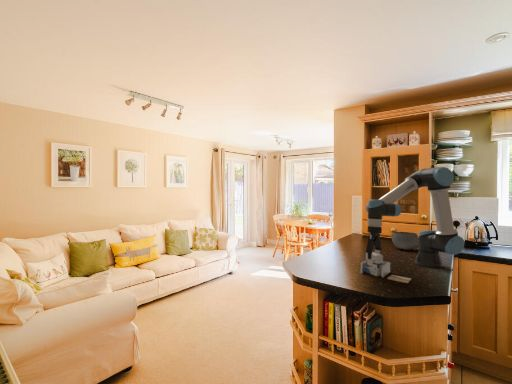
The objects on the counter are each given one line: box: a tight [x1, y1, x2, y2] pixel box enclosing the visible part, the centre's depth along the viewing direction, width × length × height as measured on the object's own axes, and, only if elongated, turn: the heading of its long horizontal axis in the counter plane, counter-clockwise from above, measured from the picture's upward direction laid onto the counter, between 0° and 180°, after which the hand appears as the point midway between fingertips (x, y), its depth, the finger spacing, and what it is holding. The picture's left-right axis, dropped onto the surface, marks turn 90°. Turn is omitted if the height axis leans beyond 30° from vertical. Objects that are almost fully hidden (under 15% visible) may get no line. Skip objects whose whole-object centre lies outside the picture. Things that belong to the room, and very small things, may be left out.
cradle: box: [360, 259, 391, 279], centre depth 158 cm, size 14×12×6 cm
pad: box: [386, 274, 412, 284], centre depth 146 cm, size 9×10×1 cm
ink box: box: [364, 251, 384, 277], centre depth 156 cm, size 8×5×12 cm, turn 23°
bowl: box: [391, 231, 419, 251], centre depth 235 cm, size 20×20×15 cm
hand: (373, 262), depth 156 cm, fingers open, 13 cm apart
